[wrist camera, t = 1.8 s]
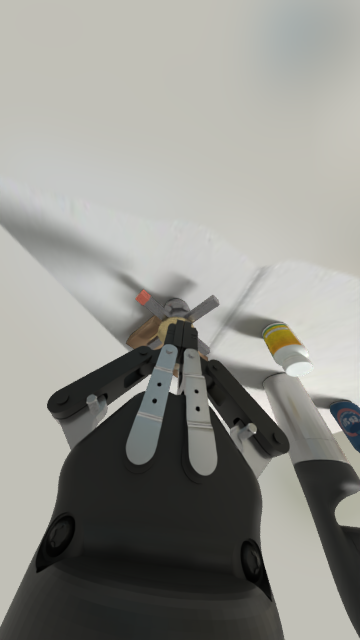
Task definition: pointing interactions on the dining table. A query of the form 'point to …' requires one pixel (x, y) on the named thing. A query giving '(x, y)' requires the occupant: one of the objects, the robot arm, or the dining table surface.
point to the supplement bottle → (287, 349)
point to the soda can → (348, 420)
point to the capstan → (175, 316)
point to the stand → (150, 338)
